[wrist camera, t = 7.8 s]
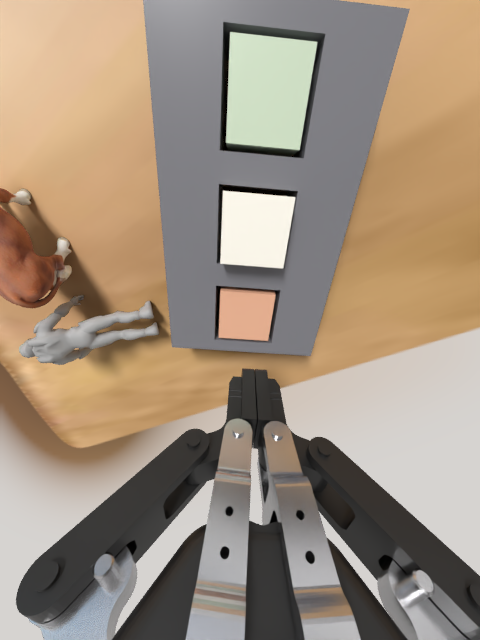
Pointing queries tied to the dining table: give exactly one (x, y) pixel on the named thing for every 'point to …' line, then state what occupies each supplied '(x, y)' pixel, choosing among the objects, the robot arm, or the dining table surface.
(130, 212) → the dining table surface
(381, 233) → the dining table surface
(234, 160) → the button panel
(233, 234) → the cream button
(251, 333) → the terracotta button
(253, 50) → the sage button
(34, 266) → the bull figurine
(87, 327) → the grey human figurine
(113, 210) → the dining table surface
